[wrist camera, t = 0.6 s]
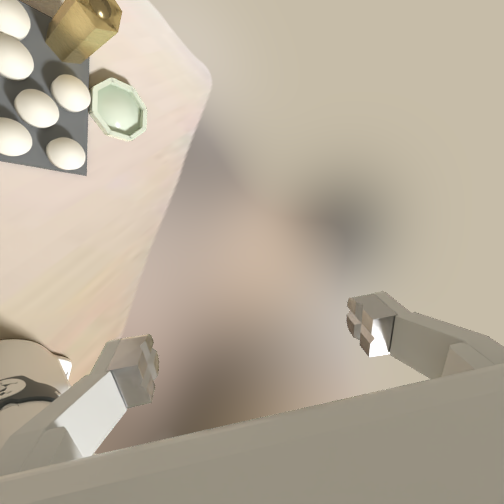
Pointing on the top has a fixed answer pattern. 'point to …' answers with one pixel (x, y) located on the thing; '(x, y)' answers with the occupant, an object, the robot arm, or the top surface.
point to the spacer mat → (42, 84)
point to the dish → (118, 109)
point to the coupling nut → (82, 28)
